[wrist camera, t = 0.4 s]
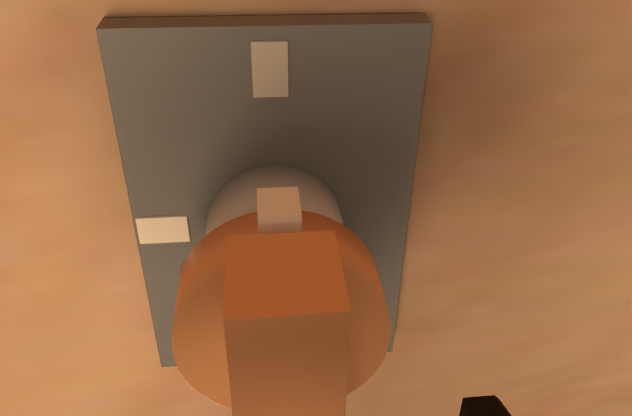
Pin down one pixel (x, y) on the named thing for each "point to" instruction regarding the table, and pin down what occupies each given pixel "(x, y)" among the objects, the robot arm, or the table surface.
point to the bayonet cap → (280, 312)
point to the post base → (264, 130)
